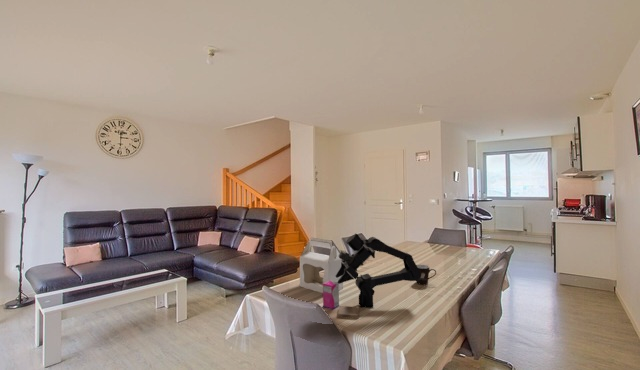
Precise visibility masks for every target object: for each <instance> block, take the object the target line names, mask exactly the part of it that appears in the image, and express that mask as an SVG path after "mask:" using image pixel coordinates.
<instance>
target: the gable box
mask: <svg viewBox="0 0 640 370" xmlns="http://www.w3.org/2000/svg"><path fill="white" fill-rule="evenodd" d="M314 247H318V248H324V249H329V254H324V253H321V252H316V251H315V249H314ZM339 254H340V252H339V250H338V248H337V247H336V246H335V245H334V244H333V241H332V240H330V239H323V238H315V237H310V239H308V241H307V242H306V246H305V247H304V249H303V251H302V252H301V255H300V256H299V287H302V288H304V289H307V290H310V291H313V292H317V293H321V294H323V283H326V282H328V281H333V282H338V280H339V279H340V278H341V276H340V277H338V278H336V274H337V273H338V271H339V269H340V268H341V262H342V261H341V260H342V259H340V258H339ZM342 263H343V262H342ZM320 268H322V269H323V271H324V274H323V276H322V277H321V276H320V270H321V269H320ZM342 289H344V282H343V283H340V284H339V291H340V290H342Z"/></svg>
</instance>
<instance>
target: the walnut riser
mask: <svg viewBox="0 0 640 370" xmlns="http://www.w3.org/2000/svg"><path fill="white" fill-rule="evenodd" d="M338 307H339V308H338V312H337V318H341V319H343V318H344V319H359V316H360V315H359V314H360V306H347V305H339V306H338Z"/></svg>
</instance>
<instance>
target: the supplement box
mask: <svg viewBox="0 0 640 370" xmlns="http://www.w3.org/2000/svg"><path fill="white" fill-rule="evenodd" d="M322 300H323V301H322V304H323V305H322V306H323V308H326V309H329V310H332V311H333V310H335V309H336V308H338V307H340V290H339V283H338V282H333V281H328V282H326V283H323V293H322Z"/></svg>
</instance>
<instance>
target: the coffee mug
mask: <svg viewBox="0 0 640 370" xmlns="http://www.w3.org/2000/svg"><path fill="white" fill-rule="evenodd" d="M416 265H417V267H418V270H420V272H421V278H420V280H418V281H415V283H416V284H418V285H422V286H423V285H426V286H427V285H428V282H429V279H431V278H433V277H434V276H436V275H437V271H436V269H434V268H431V269H430V266H429V265H427V264H416ZM431 271H434V274H433V275H431V276H430V272H431Z"/></svg>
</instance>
